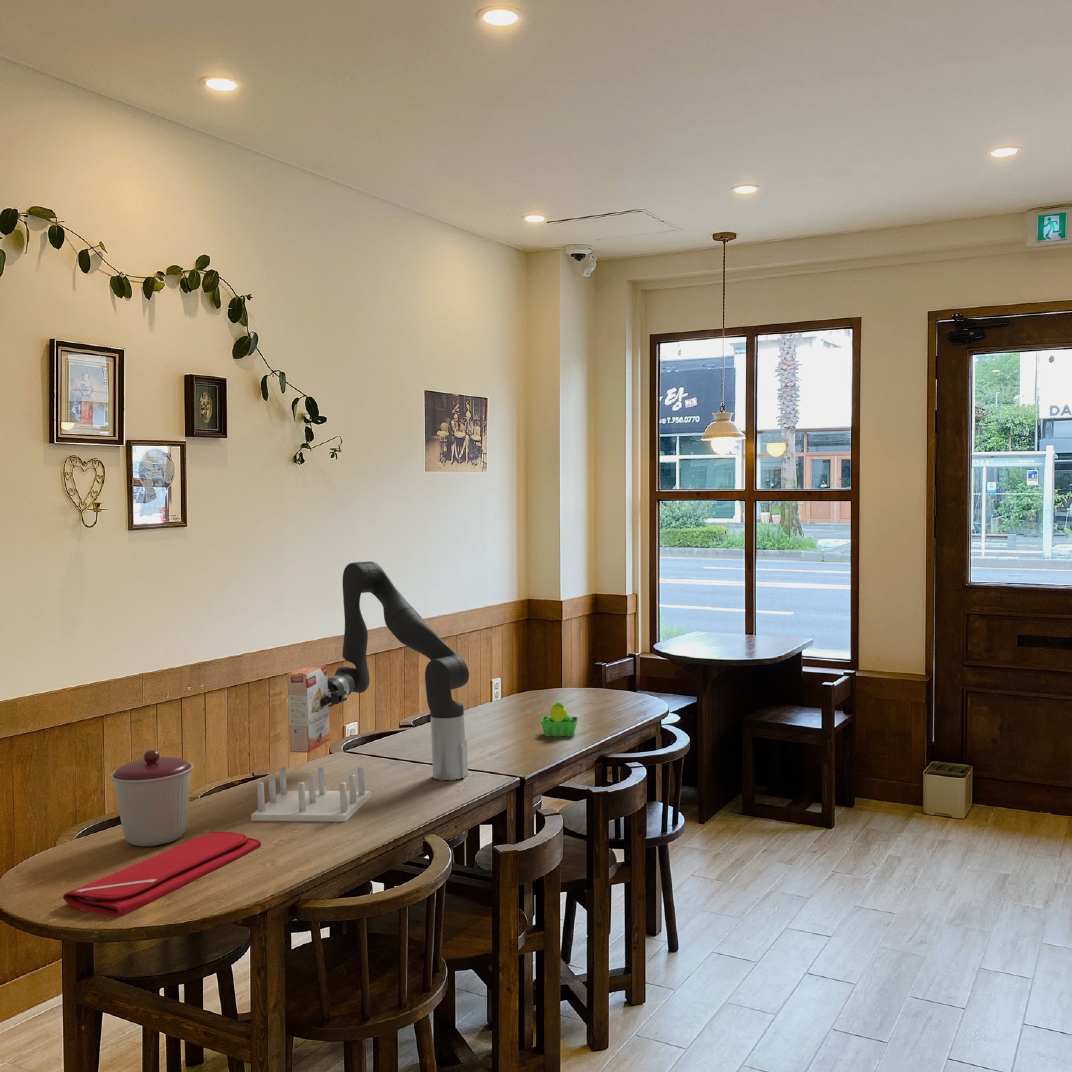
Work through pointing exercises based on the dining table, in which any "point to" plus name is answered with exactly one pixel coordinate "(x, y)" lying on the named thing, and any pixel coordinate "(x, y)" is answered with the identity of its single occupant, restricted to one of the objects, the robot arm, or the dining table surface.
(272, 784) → the dish rack
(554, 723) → the fruit basket
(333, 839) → the dining table surface
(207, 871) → the dish drying mat
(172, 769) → the canister
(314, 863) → the dining table surface
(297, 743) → the cracker box
